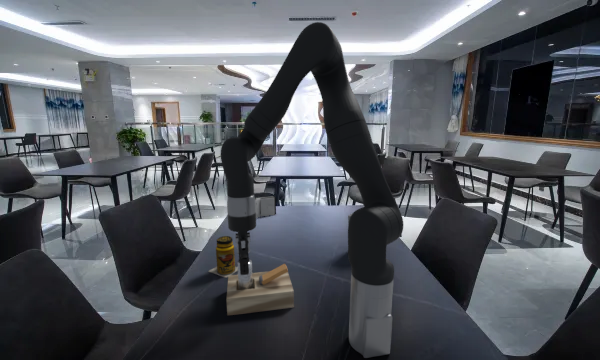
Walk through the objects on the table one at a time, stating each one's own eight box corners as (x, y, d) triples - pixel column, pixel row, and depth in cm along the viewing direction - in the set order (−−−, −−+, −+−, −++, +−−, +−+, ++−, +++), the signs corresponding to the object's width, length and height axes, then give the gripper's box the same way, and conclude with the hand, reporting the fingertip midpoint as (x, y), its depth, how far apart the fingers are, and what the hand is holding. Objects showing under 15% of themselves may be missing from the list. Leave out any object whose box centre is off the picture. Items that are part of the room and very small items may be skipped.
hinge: (254, 219, 153) (253, 201, 151) (250, 216, 157) (249, 199, 155) (277, 214, 160) (276, 197, 158) (272, 212, 164) (272, 195, 163)
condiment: (226, 278, 95) (224, 244, 93) (208, 271, 99) (205, 239, 97) (241, 268, 102) (239, 236, 99) (223, 263, 106) (221, 232, 103)
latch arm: (261, 286, 82) (258, 282, 82) (260, 280, 85) (258, 276, 85) (288, 271, 83) (286, 267, 82) (286, 266, 86) (284, 262, 85)
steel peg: (253, 303, 82) (252, 264, 80) (239, 305, 81) (237, 266, 79) (252, 295, 86) (251, 258, 83) (239, 297, 85) (237, 259, 83)
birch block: (293, 307, 80) (293, 291, 79) (227, 315, 77) (226, 298, 76) (287, 284, 92) (287, 269, 91) (229, 290, 88) (228, 275, 87)
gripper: (257, 218, 72) (259, 278, 75) (254, 203, 86) (256, 254, 89) (226, 220, 70) (229, 281, 74) (228, 205, 84) (231, 256, 87)
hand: (244, 266), depth 81 cm, fingers open, 8 cm apart
